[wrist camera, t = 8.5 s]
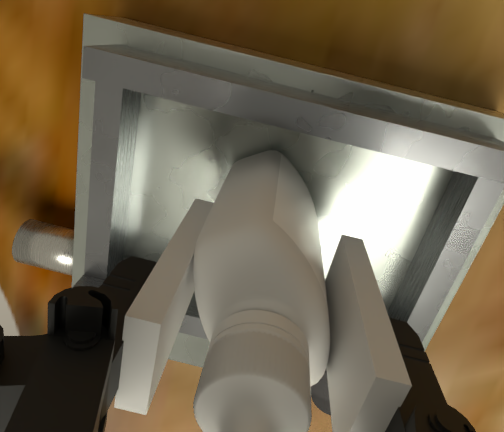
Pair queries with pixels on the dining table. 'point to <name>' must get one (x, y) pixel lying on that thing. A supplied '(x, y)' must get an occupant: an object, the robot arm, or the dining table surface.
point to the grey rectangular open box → (263, 139)
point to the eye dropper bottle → (260, 301)
